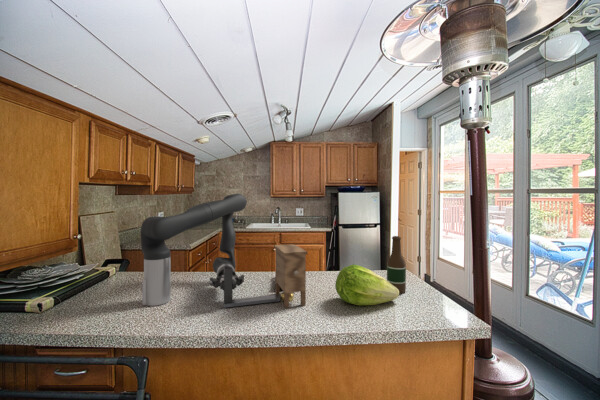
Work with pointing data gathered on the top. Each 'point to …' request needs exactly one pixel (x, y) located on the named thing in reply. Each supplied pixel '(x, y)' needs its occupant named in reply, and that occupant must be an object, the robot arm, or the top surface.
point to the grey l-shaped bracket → (243, 301)
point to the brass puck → (289, 297)
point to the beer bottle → (396, 266)
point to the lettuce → (364, 286)
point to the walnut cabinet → (290, 271)
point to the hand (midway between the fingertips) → (228, 287)
